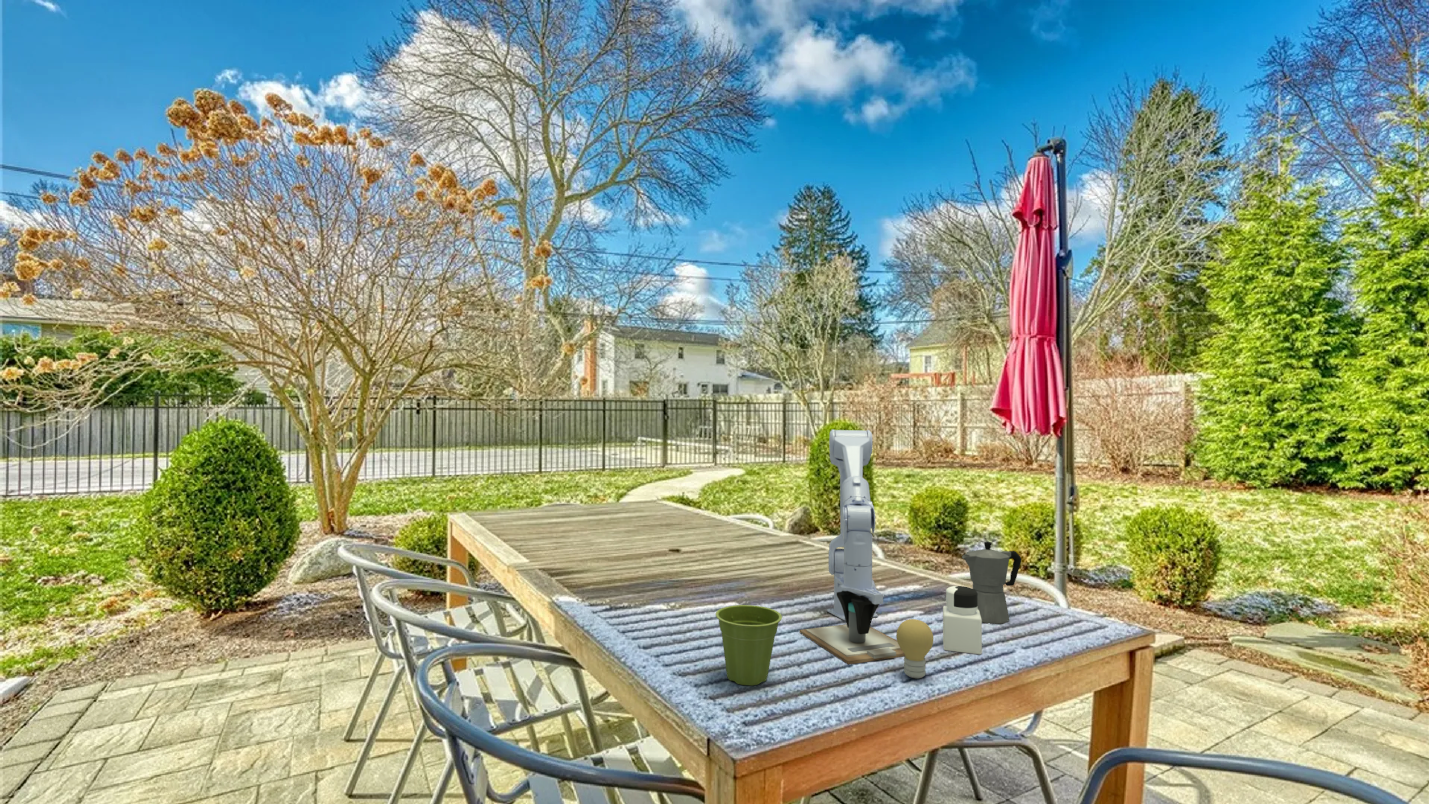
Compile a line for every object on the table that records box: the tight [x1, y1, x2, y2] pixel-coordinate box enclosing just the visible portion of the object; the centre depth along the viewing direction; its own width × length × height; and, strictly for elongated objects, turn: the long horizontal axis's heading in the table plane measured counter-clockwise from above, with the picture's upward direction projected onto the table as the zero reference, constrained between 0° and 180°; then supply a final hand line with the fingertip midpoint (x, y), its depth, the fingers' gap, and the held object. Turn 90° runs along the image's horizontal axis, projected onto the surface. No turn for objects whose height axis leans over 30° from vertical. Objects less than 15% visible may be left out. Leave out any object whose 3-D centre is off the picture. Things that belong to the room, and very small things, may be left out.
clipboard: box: [799, 624, 905, 666], centre depth 129 cm, size 16×20×1 cm
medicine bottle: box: [942, 585, 983, 655], centre depth 128 cm, size 7×7×12 cm
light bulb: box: [896, 618, 934, 679], centre depth 113 cm, size 6×6×10 cm
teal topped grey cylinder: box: [848, 602, 866, 643], centre depth 128 cm, size 4×4×7 cm
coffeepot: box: [961, 541, 1022, 625], centre depth 148 cm, size 15×9×18 cm, turn 101°
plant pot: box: [715, 604, 783, 687], centre depth 111 cm, size 12×12×11 cm
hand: (857, 630), depth 128 cm, fingers closed on teal topped grey cylinder, 3 cm apart
